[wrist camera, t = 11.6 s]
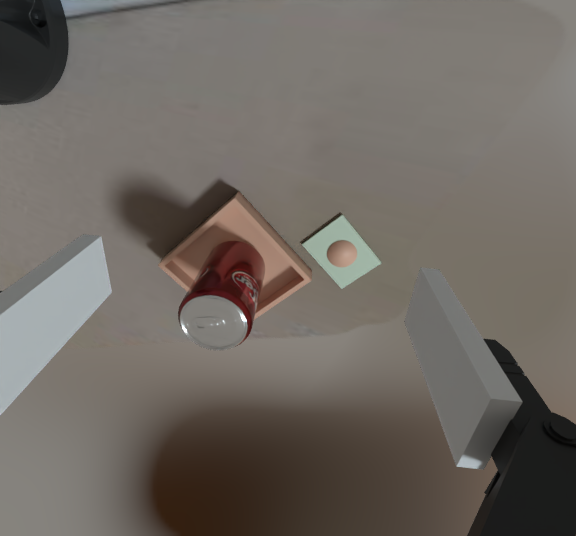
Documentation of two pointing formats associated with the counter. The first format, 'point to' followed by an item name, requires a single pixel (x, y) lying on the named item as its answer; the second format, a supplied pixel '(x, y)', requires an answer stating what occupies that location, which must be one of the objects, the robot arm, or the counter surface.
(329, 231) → the tile
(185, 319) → the soda can
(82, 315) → the robot arm
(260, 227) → the peach shallow tray
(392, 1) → the counter surface
